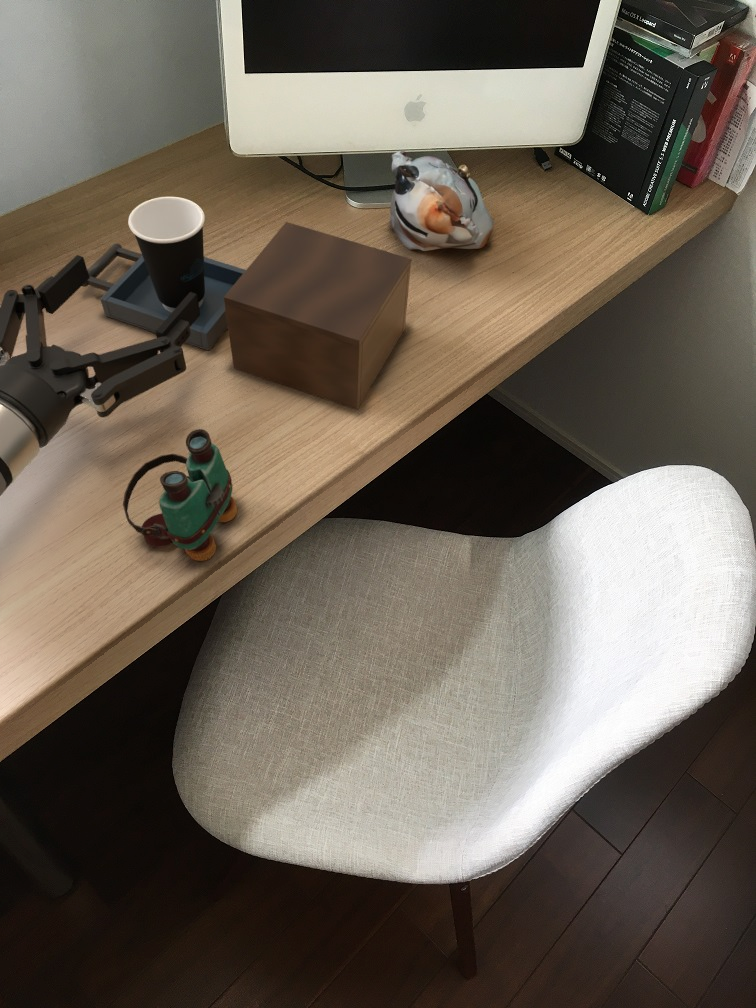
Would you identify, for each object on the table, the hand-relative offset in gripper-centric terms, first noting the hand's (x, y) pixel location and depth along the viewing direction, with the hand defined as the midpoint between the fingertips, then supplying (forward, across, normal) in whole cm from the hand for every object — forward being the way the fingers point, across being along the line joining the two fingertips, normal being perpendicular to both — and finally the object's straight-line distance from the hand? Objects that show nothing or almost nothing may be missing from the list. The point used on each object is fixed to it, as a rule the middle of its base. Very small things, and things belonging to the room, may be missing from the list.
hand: (138, 284), depth 82 cm
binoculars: (-20, +16, -8) cm, 27 cm away
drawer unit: (+7, +18, -8) cm, 21 cm away
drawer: (+7, -2, -8) cm, 10 cm away
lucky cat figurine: (+32, +23, -8) cm, 40 cm away
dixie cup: (+7, 0, -7) cm, 10 cm away
